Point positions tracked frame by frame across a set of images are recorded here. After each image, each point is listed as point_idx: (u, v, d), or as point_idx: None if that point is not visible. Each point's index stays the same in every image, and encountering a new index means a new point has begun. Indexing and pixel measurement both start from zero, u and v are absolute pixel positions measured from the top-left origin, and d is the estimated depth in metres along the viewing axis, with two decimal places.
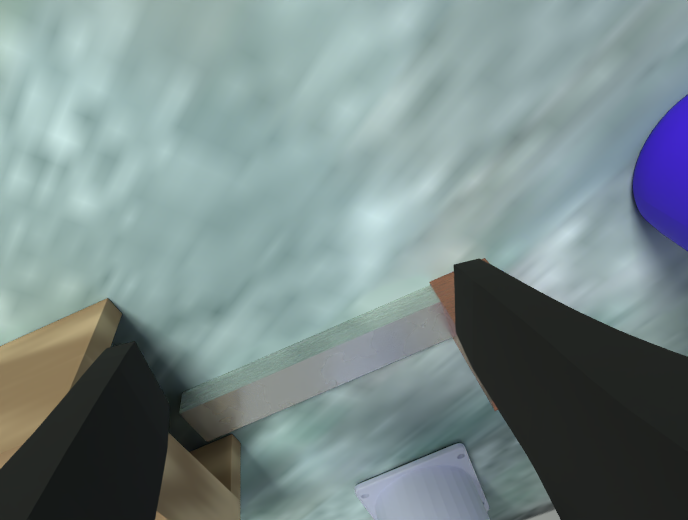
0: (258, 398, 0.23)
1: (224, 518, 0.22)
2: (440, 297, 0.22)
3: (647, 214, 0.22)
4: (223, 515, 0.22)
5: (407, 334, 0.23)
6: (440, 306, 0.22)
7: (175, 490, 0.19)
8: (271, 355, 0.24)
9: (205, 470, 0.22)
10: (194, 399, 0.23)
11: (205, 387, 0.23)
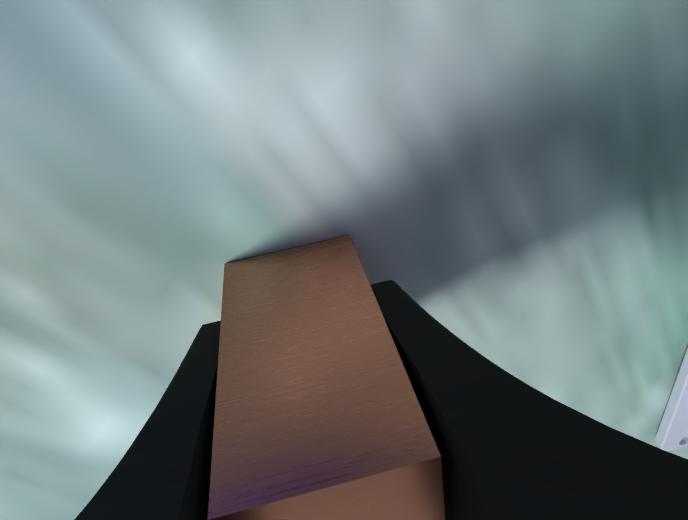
0: None
1: None
2: None
3: None
4: None
5: None
6: None
7: None
8: None
9: None
10: None
11: None
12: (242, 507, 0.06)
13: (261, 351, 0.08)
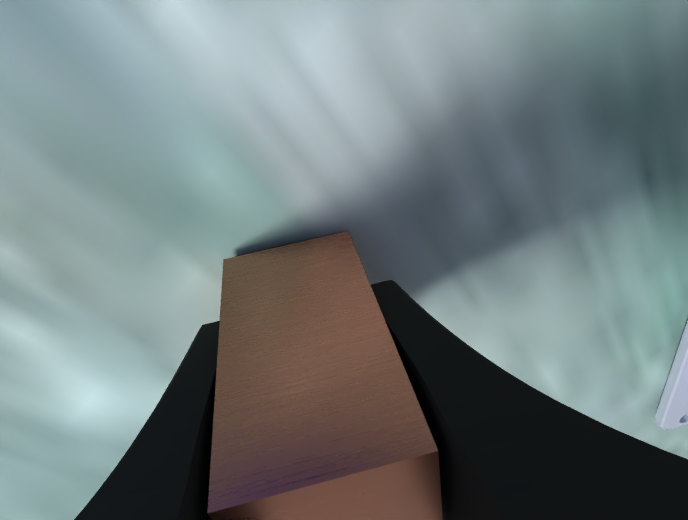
0: None
1: None
2: None
3: None
4: None
5: None
6: None
7: None
8: None
9: None
10: None
11: None
12: (241, 501, 0.06)
13: (260, 347, 0.08)
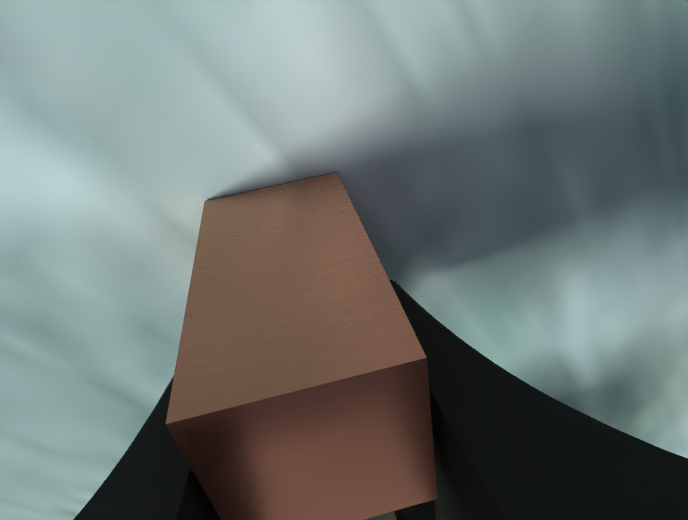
0: None
1: None
2: None
3: None
4: None
5: None
6: None
7: None
8: None
9: None
10: None
11: None
12: (205, 411, 0.05)
13: (236, 273, 0.07)
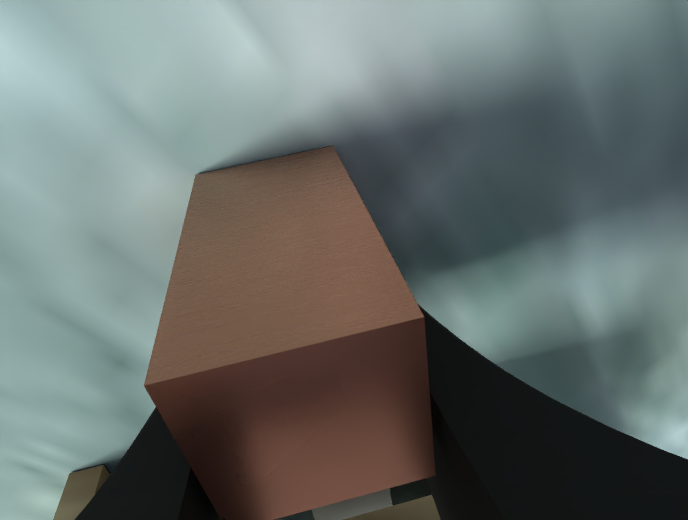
0: None
1: None
2: None
3: None
4: None
5: None
6: None
7: None
8: None
9: (375, 515, 0.11)
10: None
11: None
12: (186, 373, 0.05)
13: (226, 240, 0.07)
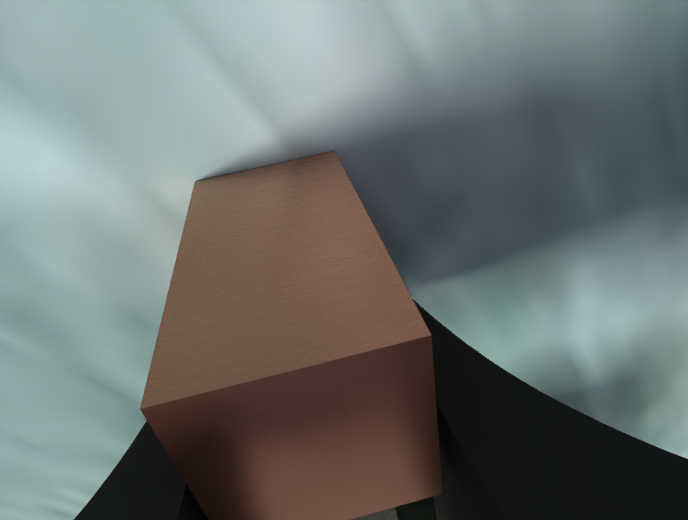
0: None
1: None
2: None
3: None
4: None
5: None
6: None
7: None
8: None
9: None
10: None
11: None
12: (184, 395, 0.05)
13: (225, 251, 0.07)
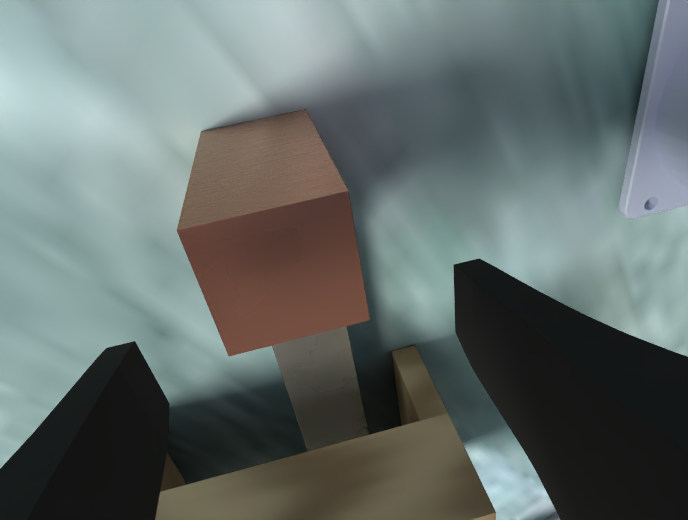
0: None
1: (421, 466, 0.14)
2: None
3: None
4: (417, 464, 0.14)
5: None
6: None
7: None
8: None
9: (352, 442, 0.15)
10: None
11: None
12: (202, 224, 0.08)
13: (225, 165, 0.10)
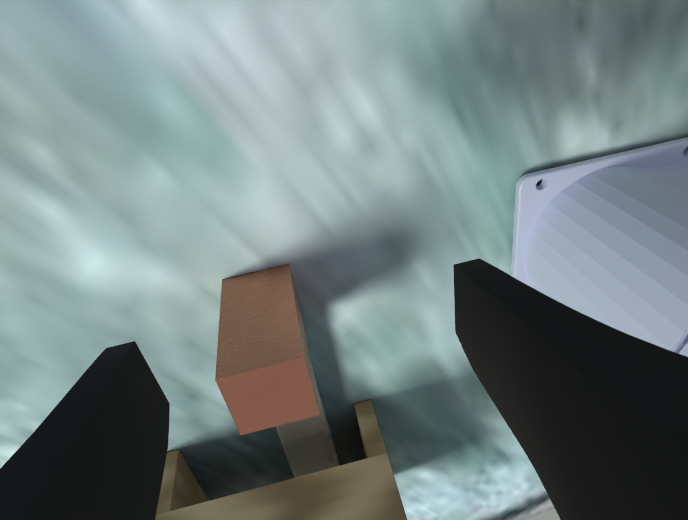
0: (314, 471, 0.26)
1: (364, 490, 0.22)
2: None
3: None
4: (362, 489, 0.22)
5: None
6: None
7: None
8: None
9: (321, 472, 0.23)
10: None
11: None
12: (228, 376, 0.15)
13: (238, 322, 0.17)
